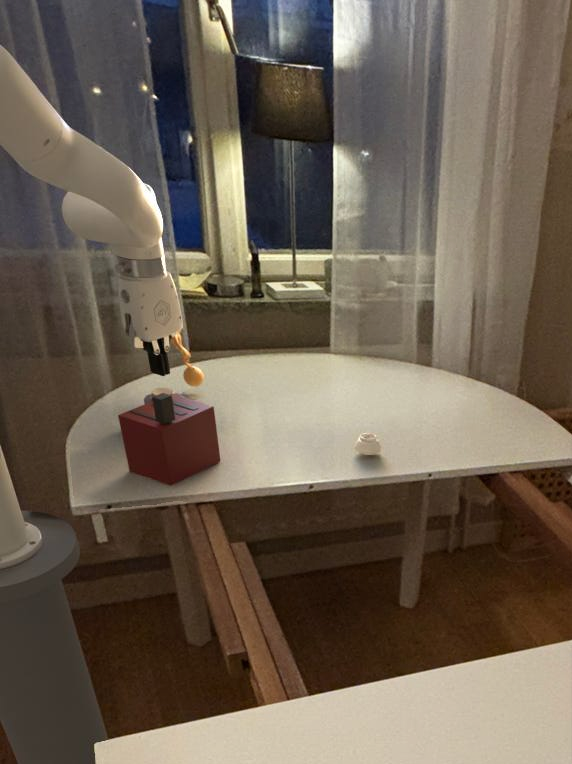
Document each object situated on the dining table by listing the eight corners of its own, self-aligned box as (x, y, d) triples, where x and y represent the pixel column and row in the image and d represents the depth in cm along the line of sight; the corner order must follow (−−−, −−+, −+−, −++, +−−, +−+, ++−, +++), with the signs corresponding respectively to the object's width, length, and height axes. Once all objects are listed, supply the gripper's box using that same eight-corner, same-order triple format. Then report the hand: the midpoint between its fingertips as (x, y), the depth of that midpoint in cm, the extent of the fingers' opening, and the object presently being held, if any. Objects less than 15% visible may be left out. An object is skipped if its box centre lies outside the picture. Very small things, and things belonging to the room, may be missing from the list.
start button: (164, 406, 142) (163, 397, 141) (148, 401, 143) (146, 391, 142) (180, 399, 145) (178, 390, 144) (163, 394, 146) (162, 385, 145)
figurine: (208, 392, 158) (201, 331, 151) (178, 394, 155) (169, 332, 148) (200, 378, 163) (193, 320, 156) (170, 380, 161) (162, 321, 154)
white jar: (356, 444, 145) (352, 455, 141) (356, 429, 144) (352, 439, 139) (382, 447, 145) (379, 457, 141) (383, 432, 144) (379, 442, 140)
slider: (164, 424, 121) (160, 399, 118) (156, 421, 121) (151, 396, 119) (175, 419, 122) (171, 395, 120) (166, 416, 123) (163, 392, 120)
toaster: (171, 486, 126) (161, 428, 120) (129, 472, 128) (117, 414, 122) (220, 461, 135) (213, 405, 128) (180, 447, 137) (171, 392, 131)
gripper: (125, 279, 123) (146, 390, 134) (190, 262, 134) (204, 367, 145) (90, 270, 125) (113, 380, 137) (157, 254, 136) (173, 357, 147)
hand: (160, 373), depth 141 cm, fingers closed
